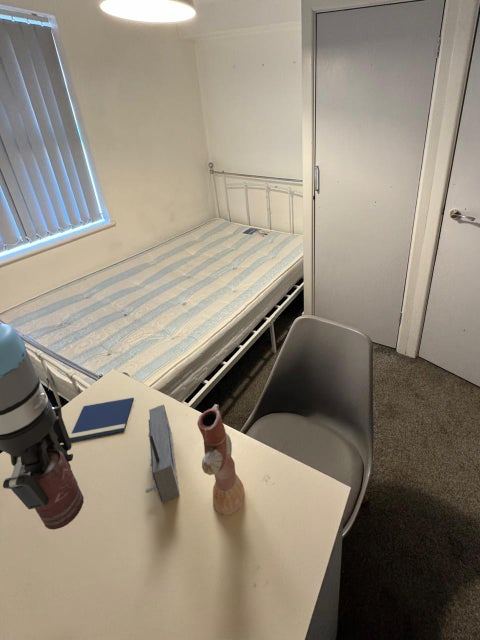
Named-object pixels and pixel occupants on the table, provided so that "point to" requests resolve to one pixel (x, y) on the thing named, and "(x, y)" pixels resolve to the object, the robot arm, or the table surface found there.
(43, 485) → the can
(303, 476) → the table surface
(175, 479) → the electronic device
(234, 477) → the vase
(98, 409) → the book
